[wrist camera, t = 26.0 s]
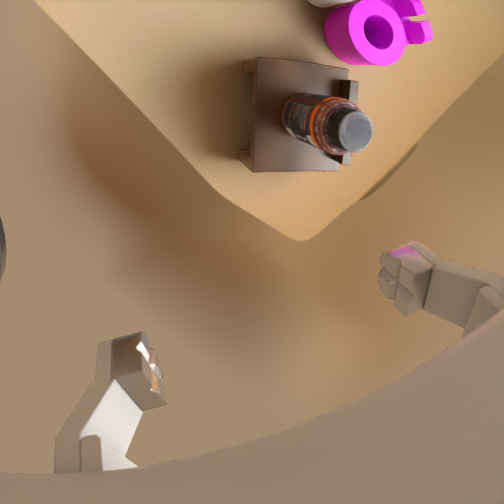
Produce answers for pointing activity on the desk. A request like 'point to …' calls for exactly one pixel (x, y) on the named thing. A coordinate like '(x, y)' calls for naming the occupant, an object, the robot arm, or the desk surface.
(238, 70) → the desk surface
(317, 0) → the beverage can
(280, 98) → the shelf
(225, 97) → the desk surface
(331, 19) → the tape dispenser
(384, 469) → the robot arm
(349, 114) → the supplement bottle
